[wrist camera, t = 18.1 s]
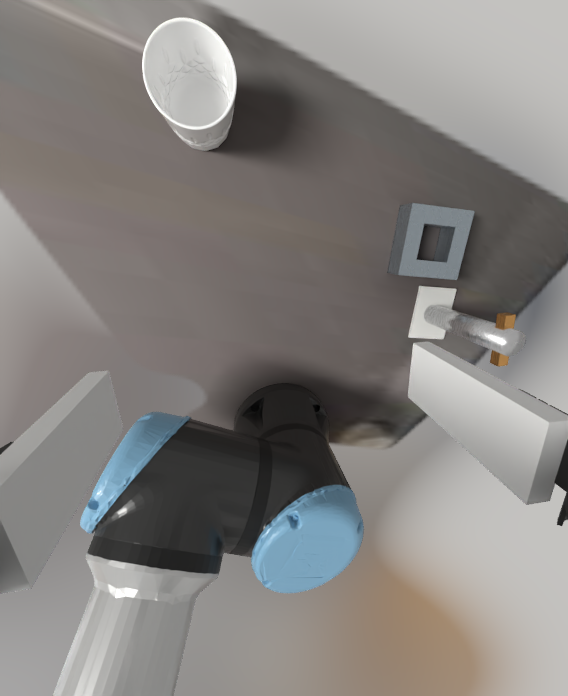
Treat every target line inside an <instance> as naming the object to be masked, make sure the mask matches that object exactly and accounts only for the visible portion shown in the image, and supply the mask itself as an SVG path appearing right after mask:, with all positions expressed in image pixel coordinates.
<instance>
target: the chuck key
mask: <svg viewBox="0 0 568 696" xmlns="http://www.w3.org/2000/svg"><path fill="white" fill-rule="evenodd" d="M515 317H516V315H515V314H511V313H499V314H497V320H496V323H493V322H490V321H486V320H483V319H480V318H477V317H474V316H471V315H467V314H464V313H461V312H458V311H455V310H451V309H448V308H445V307H442V306H439V305H430V306H429V307H427V309H426V310H425V312H424V320H425V321H426V322H427V323H429V324H432V325H434V326H436V327H439V328H441V329H443V330H446V331H448V332H451V333H453V334H455V335H458V336H460V337H462V338H465V339H467V340H470V341H472V342H474V343H477V344H479V345H481V346H484V347H486V348H489V349H491V350H492V354H491V360H490V363H492V364H494V365H496V366H505V365H507V364H508V358H509V356H514V355H516V354H518V353H519V352H520V351H521V350H522V349H523V347H524V345H525V342H526V337H525V335H524V333H523V332H521V331H518V330H515V329H514V323H515Z"/></svg>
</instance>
